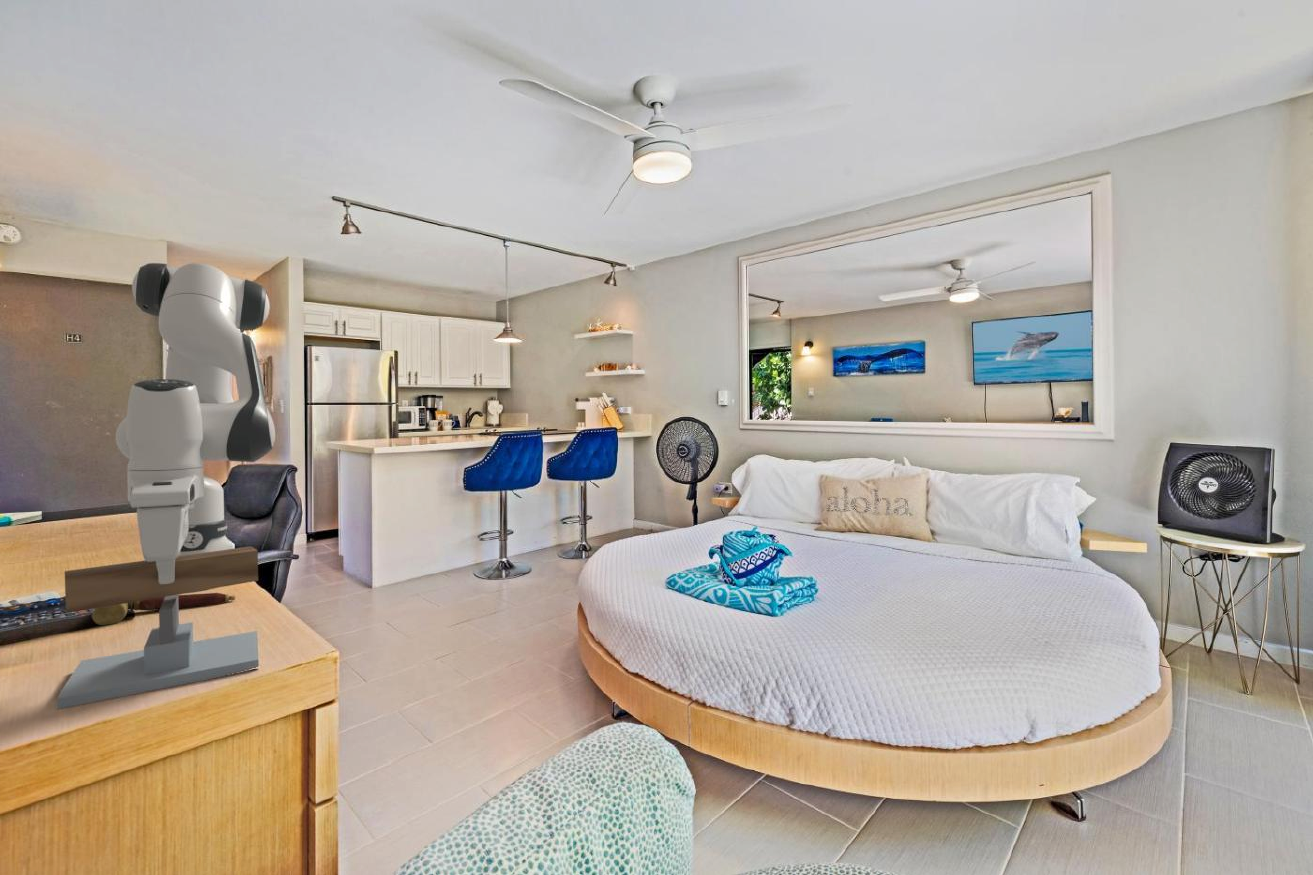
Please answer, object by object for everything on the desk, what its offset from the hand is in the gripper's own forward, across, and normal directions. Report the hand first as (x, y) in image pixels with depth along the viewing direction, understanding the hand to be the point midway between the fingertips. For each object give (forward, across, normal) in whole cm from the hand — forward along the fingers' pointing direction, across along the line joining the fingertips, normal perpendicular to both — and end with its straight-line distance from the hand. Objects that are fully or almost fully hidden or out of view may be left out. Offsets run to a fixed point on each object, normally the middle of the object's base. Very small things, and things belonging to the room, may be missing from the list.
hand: (169, 578), depth 89 cm
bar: (+2, 0, 0) cm, 2 cm away
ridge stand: (+14, 0, 0) cm, 14 cm away
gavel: (+15, -35, -3) cm, 38 cm away
